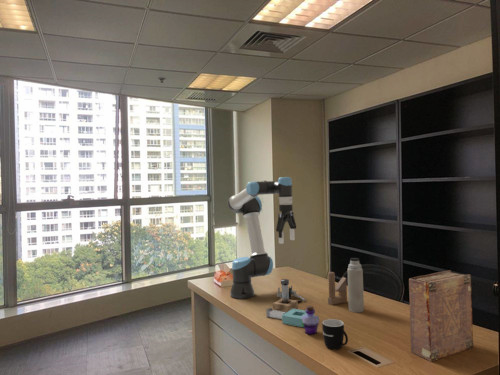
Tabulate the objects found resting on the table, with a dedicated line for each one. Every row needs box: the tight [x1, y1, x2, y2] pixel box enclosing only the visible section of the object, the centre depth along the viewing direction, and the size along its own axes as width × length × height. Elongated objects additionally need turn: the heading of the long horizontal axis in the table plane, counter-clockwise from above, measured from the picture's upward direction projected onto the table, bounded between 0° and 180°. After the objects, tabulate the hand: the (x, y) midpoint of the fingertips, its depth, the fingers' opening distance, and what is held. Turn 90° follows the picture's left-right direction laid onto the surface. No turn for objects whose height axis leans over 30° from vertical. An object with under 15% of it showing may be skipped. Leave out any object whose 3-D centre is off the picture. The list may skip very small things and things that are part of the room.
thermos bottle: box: [347, 257, 365, 313], centre depth 203 cm, size 8×8×28 cm
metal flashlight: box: [280, 278, 290, 304], centre depth 205 cm, size 4×4×17 cm
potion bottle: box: [302, 305, 320, 336], centre depth 175 cm, size 9×9×12 cm
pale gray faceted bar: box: [265, 307, 286, 320], centre depth 195 cm, size 14×4×4 cm, turn 57°
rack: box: [272, 297, 299, 313], centre depth 205 cm, size 10×10×5 cm
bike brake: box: [276, 285, 306, 304], centre depth 223 cm, size 14×7×20 cm
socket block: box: [281, 308, 315, 328], centre depth 189 cm, size 12×12×4 cm
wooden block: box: [327, 271, 348, 306], centre depth 216 cm, size 4×11×18 cm, turn 111°
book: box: [408, 269, 474, 362], centre depth 152 cm, size 25×9×30 cm, turn 116°
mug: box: [321, 318, 349, 350], centre depth 158 cm, size 12×9×10 cm
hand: (287, 241), depth 213 cm, fingers open, 13 cm apart
